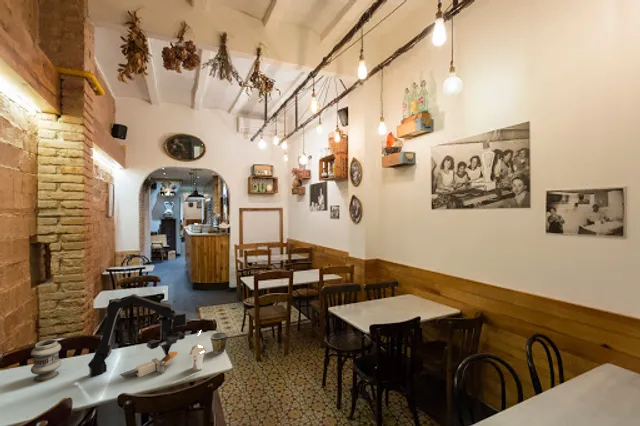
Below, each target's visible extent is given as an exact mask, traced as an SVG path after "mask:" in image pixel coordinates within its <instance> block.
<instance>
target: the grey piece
mask: <svg viewBox="0 0 640 426" xmlns="http://www.w3.org/2000/svg"><path fill="white" fill-rule="evenodd" d="M151 361H153V362H154V363H155V371H154V372H151V373H148V374H146V375H143V376H142V378H143V379H144V378H145V379H146V378H148V377H151V376H154V374H157V376H159V375H163V374H166V372H165V365H164V366H160V365H158V362H159V361H160V359H158V358H157V357H155V358H152V359H151ZM134 371H136V367H135V368H133V369H130V370H128V371H125V372H123V373H120V374H119V375H120V376H122V377H123V379H124V380H125V381H128V383H132V384H133V383H138V382H136V379H134V381H135V382H134V381H132V380H131V379H132V378H136V377H138V376H137V375H136V374H135V375H133V376H130V377H126V374H129V373H132V372H134ZM138 379H141V377H138Z"/></svg>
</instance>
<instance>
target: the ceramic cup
mask: <svg viewBox="0 0 640 426" xmlns="http://www.w3.org/2000/svg"><path fill="white" fill-rule="evenodd" d="M209 337H210V338H209V339H210V342H211V346H212V352H213V354H215V355H220V354H222V353H224V352H225V351H224V350H226V344H227V340H228V339H227V338H228V333H226V332H222V331H220V332H219V331H218V332H214V333H212V334H211V335H210V336H209Z"/></svg>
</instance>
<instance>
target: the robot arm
mask: <svg viewBox="0 0 640 426" xmlns="http://www.w3.org/2000/svg"><path fill="white" fill-rule="evenodd" d="M130 304H134V305H137V306H140V307H142V308H145V309H148V310H151V311H154V312H155V313H157V314H158V316H159V317H158V318H157V319H156V321H157V322H160V329H159V332H160V336H159V339H158V340H156V339H151V340H148V341H147V342H146V347H147V348H148V349H150V350H155V349H157V348H159V347H161V349H162V351H163V353H164V356H166V355H167V354H169V353H170V350H171V347H172V345H175V344H176V343H177V341H182V340H185V338H186V336H185V333H183V332H182V331H178V332H177V331H176V332H175V331H174V329H173V326H174V327H176V328H177V327H184V326H185V327H186V326H187V320H188V319H187V313H186V312H183V313H177V312H176V311H175V310H174V308H173V305H172V304H170V303H165V302H157V301H154V300H151V299H148V298H145V297H143V296H140V295H137V294H135V293H132V294H130V295H127V296H124V297H121V298H119V297H117V298H113V299H112V300H111V301H110V302H109V303H108V304H107V306H106V307H107V308H106V316H107V317H106V322H105V325H104V329H103V332H102V336H101V340H100V344H99V345H98V347H97V349H96V351H95V353H94V355H93V358H91V360H90V361H89V362H88V363H87V366H88V369H89V374H88V376H90V377H91V378H92V377H98V376H100V375H103V374H104V373H106V372H107V371H108V370H107V363H106V359H107V358H109V356H110V355H111V354H112V349H113V346H114V344H111V340H112V335H113V332H114V328H115V324H116V321H117V317H118V315H119V313H120V311H121V309H122V308H124V307H126V306H129V305H130Z"/></svg>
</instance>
